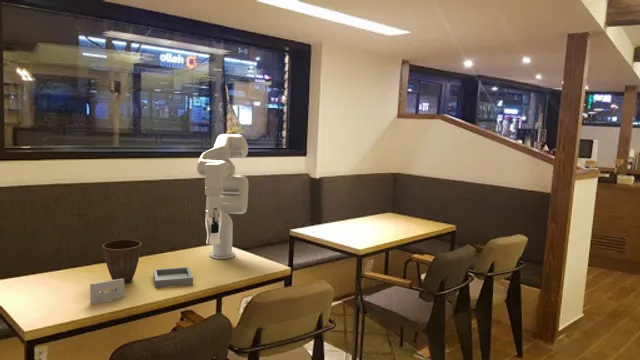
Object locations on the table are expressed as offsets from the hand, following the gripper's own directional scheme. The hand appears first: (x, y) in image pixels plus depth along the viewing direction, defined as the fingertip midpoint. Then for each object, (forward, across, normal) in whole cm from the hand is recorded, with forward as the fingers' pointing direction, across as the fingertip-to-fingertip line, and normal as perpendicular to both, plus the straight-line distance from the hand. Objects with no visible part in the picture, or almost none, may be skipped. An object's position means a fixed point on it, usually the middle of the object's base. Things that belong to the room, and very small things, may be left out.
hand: (213, 230), depth 211 cm
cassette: (+20, +19, -42) cm, 51 cm away
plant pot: (+21, -2, -37) cm, 43 cm away
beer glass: (+6, 0, 0) cm, 6 cm away
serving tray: (+20, +2, -17) cm, 27 cm away
